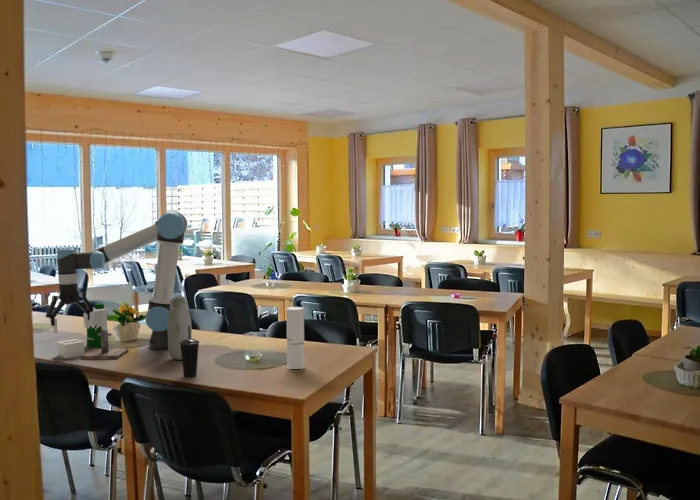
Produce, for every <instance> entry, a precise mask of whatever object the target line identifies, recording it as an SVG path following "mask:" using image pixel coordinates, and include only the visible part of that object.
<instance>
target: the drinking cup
mask: <svg viewBox="0 0 700 500" xmlns="http://www.w3.org/2000/svg"><path fill="white" fill-rule="evenodd" d="M179 344H180V347H181V356H182V360H181V364H182V371H183V377H184V378H187V379H188V378H190V377H191V378H195V377H197V373H198V372H197V371H198V358H199V344H200V341H199V340H198V339H195V338H192V339H190V326H188V339H185V340H183V341H181V342H180V343H179Z"/></svg>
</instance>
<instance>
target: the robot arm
mask: <svg viewBox="0 0 700 500" xmlns="http://www.w3.org/2000/svg"><path fill="white" fill-rule="evenodd" d="M187 228H188V221H187V218H186V217H185V215H183V214H182V213H180V212H178V211H168V212H166V213H164V214H162V215H161V216H159V218H158V220H156V221H155V222H154V224H152V225H150V226H147V227H145V228H143V229H141V230H139V231H136V232H134V233H131V234H129V235H127V236H124V237H121V238H119V239H118V240H116V241H113V242H111V243H109V244H108V243H107V244H105V245H104V246H102V247H99V248H97V249H94V250H91V251H88V252H87V251H86V252H76V249H75V248H60V249H58V250H57V251H56V263H57V274H58V275H57V276H58V283H59V285H58V290H59V295H52V296H51V302H50V305H49V307H48V309H47V311H46V314H45V318H48V319H50V320H49V321H50V326H52V328H53V329H52V331H53V333H54V334H58V333H59V332H58V320H57V319H58V318H56V317H57V316H58V314H59V312H60V311H61V310H62V308H63V307H64V306H65V305H70V304H71V305H73V304H76V305H77V306H78V307H79V308H80V309H81V310H82V311H83V312H84V313H83V327H84V329H87V328H88V320H90V312H92V311H93V308H94V307H93V306H92V305H91V303H90V302H89V299H88V298H87V296H86V292H85V291H84V292H83V291H81V292H79V290H78V289H79V288H78V283H77V282H78V275H77V274H78V272H77V270H78V271H79V270H98V269H103V268H104V267H105V264H108V263H110V262H111V261H113V260H116V259H118V258H121V257H123V256H125V255H128V254H130V253H132V252H135V251H137V250H139V249H141V248H143V247H146V246H149V245H151V244H153V243H155V242H157V243H158V244H159V249H158V255H157V261H156V262H157V263H156V264H157V265H156V272H155V279H154V287H153V294H152V297H150V298H149V299H148V307H147V312H146V313H145V324H146V326H147V327H148V328H149V329H150V330H151V335H150V337H149V341H148V348H149V349H152V350H153V349H154V350H168V330H167V324H168V317H169V312H170V302H171V300H172V298H173V297H174V291H175V282H176V276H177V275H176V273H177V265H178V258H179V251H180V250H179V249H180V247H181V246H182V245H183V244H184V238H185V232H186V230H187ZM79 298H81V299H82V301H83V303H84V304H85V305H83V304H82V302H81V301H80V300H79ZM59 300H60V301H59ZM58 301H59V302H58ZM57 302H58V304H57Z"/></svg>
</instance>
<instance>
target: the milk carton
mask: <svg viewBox="0 0 700 500" xmlns="http://www.w3.org/2000/svg"><path fill="white" fill-rule="evenodd" d="M92 308H93V311H92V312H90V320H88V328H86V348H92V349H100V348H101V336H97V334H98V333H101V329H104V328H107V329H108V314H109V308H107V307H105V304H104V303H96V304H94V307H92ZM108 345H109V343H108Z"/></svg>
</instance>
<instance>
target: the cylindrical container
mask: <svg viewBox="0 0 700 500" xmlns="http://www.w3.org/2000/svg"><path fill="white" fill-rule="evenodd" d="M285 312H286V313H285V314H286V368H289V369H301V368H304V369H305V308H304V307H303V306H302V307H301V306H289V307H286V311H285ZM289 369H288V370H289Z"/></svg>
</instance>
